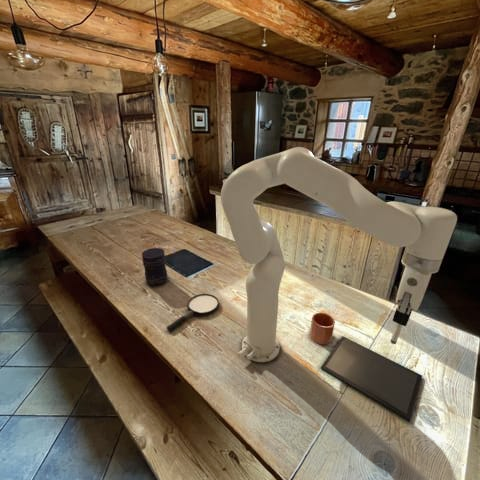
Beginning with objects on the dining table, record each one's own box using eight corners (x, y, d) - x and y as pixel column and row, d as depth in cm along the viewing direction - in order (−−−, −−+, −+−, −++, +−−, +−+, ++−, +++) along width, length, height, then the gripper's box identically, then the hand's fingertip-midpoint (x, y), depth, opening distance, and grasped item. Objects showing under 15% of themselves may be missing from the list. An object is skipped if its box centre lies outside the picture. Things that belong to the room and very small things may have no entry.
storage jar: (157, 273, 132) (153, 246, 125) (172, 279, 127) (169, 251, 121) (141, 282, 124) (136, 254, 118) (156, 289, 119) (152, 260, 113)
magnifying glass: (157, 324, 99) (157, 319, 98) (202, 293, 116) (202, 289, 115) (180, 339, 92) (180, 334, 91) (224, 304, 110) (224, 300, 109)
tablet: (409, 421, 67) (410, 419, 67) (320, 368, 82) (321, 366, 81) (421, 377, 79) (422, 375, 79) (342, 337, 93) (342, 335, 93)
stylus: (395, 345, 72) (408, 306, 67) (389, 342, 73) (402, 304, 68) (396, 342, 73) (409, 303, 68) (391, 339, 74) (403, 301, 69)
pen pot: (326, 348, 89) (329, 330, 86) (305, 337, 93) (308, 320, 90) (335, 335, 94) (338, 319, 91) (315, 325, 99) (318, 309, 96)
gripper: (435, 279, 55) (409, 345, 62) (444, 253, 66) (422, 313, 73) (395, 266, 59) (376, 330, 67) (410, 244, 70) (392, 301, 78)
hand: (400, 320), depth 70 cm, fingers closed on stylus, 1 cm apart
